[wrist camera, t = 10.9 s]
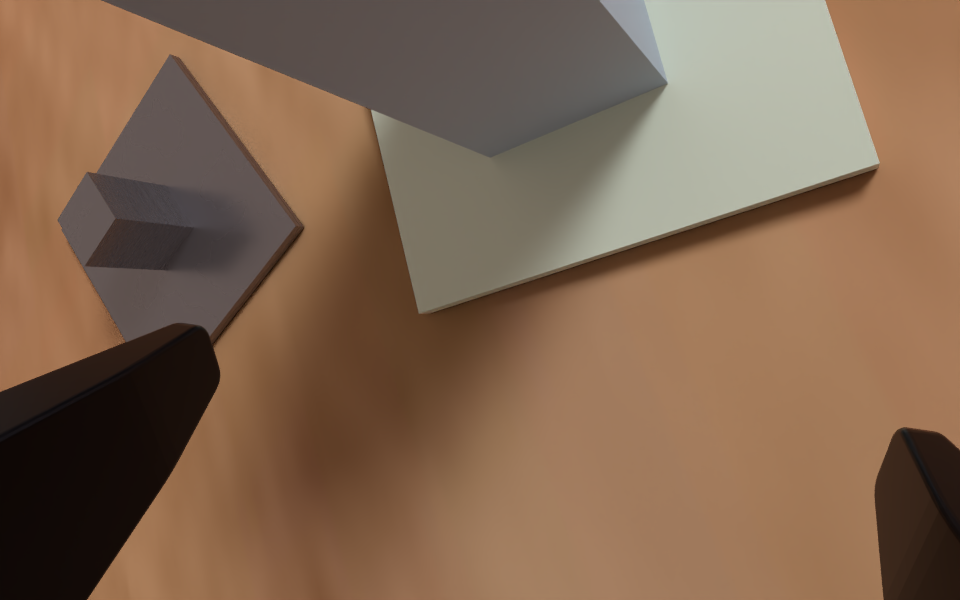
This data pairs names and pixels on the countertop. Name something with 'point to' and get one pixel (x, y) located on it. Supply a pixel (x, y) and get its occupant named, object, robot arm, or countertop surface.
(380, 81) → the gray pillar with knob
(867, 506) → the countertop surface
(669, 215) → the mat
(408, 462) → the countertop surface
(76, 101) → the countertop surface
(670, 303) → the countertop surface
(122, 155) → the grey square base plate
